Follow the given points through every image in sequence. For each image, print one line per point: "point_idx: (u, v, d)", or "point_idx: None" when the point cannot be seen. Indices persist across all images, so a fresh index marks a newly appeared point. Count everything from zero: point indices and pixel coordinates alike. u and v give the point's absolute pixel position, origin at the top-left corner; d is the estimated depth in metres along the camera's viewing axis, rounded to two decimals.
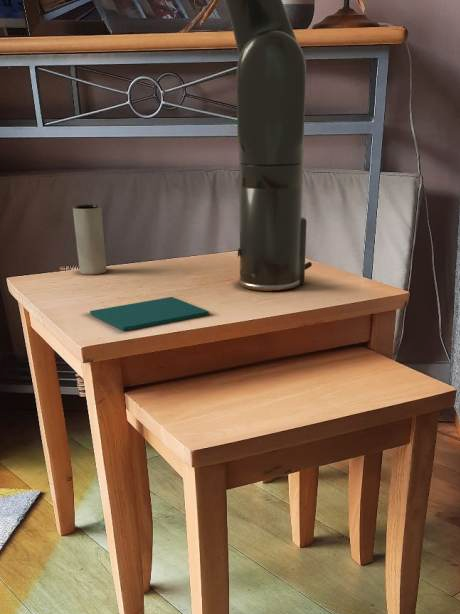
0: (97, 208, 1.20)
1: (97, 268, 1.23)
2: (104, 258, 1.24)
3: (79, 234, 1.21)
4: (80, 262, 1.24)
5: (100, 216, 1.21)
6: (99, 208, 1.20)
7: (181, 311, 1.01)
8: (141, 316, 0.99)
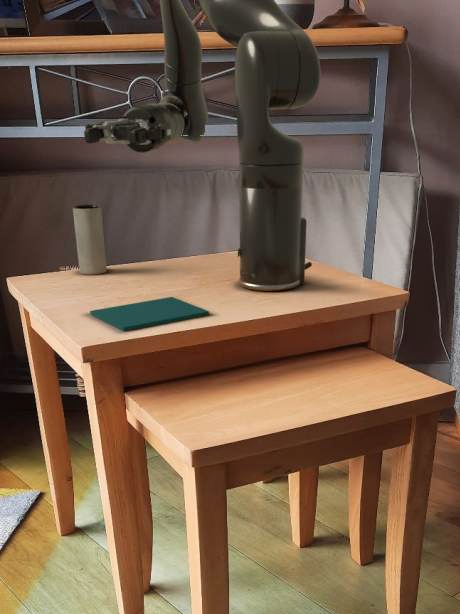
0: (97, 208, 1.20)
1: (97, 268, 1.23)
2: (104, 258, 1.24)
3: (79, 234, 1.21)
4: (80, 262, 1.24)
5: (100, 216, 1.21)
6: (99, 208, 1.20)
7: (181, 311, 1.01)
8: (141, 316, 0.99)
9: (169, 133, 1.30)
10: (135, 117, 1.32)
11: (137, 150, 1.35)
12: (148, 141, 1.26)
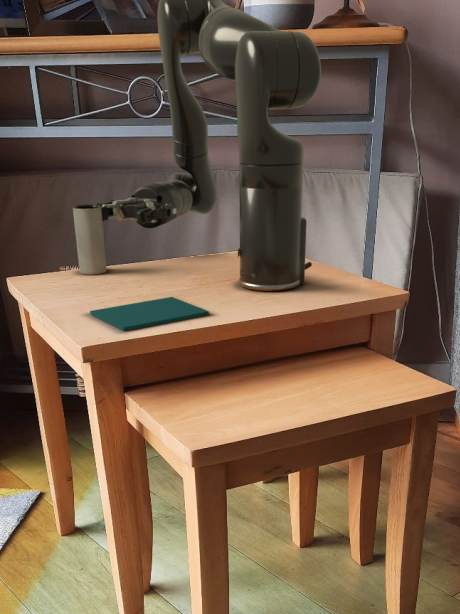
0: (97, 208, 1.20)
1: (97, 268, 1.23)
2: (104, 258, 1.24)
3: (79, 234, 1.21)
4: (80, 262, 1.24)
5: (100, 216, 1.21)
6: (99, 208, 1.20)
7: (181, 311, 1.01)
8: (141, 316, 0.99)
9: (175, 212, 1.36)
10: (143, 196, 1.38)
11: (145, 226, 1.41)
12: (154, 220, 1.32)
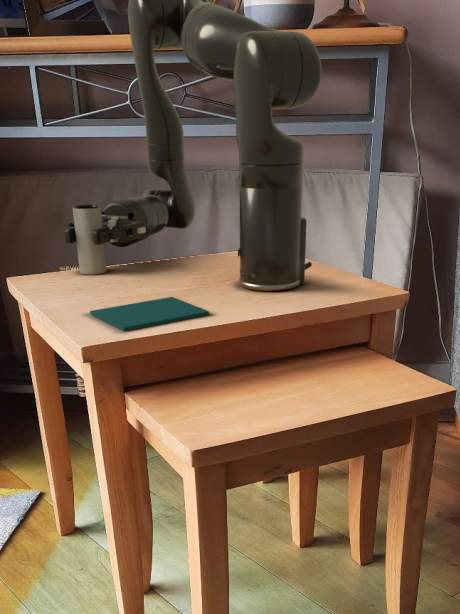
0: (97, 208, 1.20)
1: (97, 268, 1.23)
2: (104, 258, 1.24)
3: (79, 234, 1.21)
4: (80, 262, 1.24)
5: (100, 216, 1.21)
6: (99, 208, 1.20)
7: (181, 311, 1.01)
8: (141, 316, 0.99)
9: (142, 231, 1.26)
10: (114, 213, 1.30)
11: (116, 245, 1.32)
12: (111, 240, 1.23)
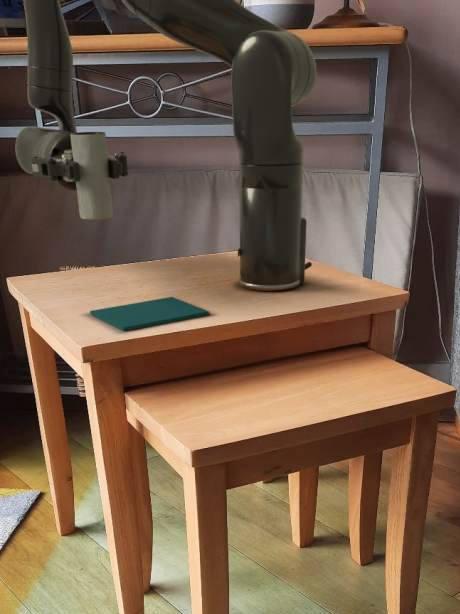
0: (105, 133, 0.97)
1: (111, 210, 1.01)
2: None
3: (90, 168, 0.97)
4: (90, 205, 0.99)
5: None
6: None
7: (181, 311, 1.01)
8: (141, 316, 0.99)
9: None
10: (71, 147, 1.05)
11: (75, 188, 1.08)
12: None
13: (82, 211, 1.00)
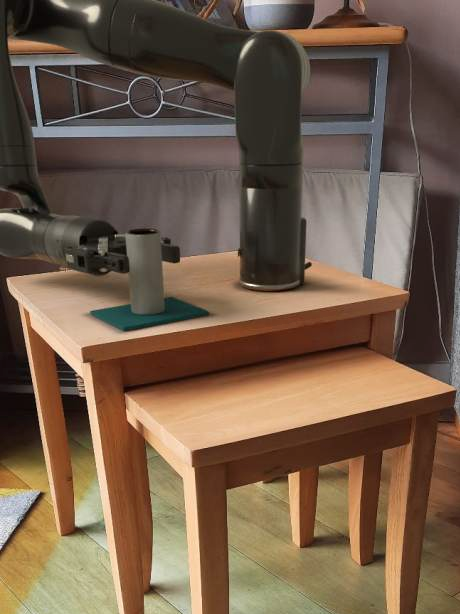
0: (158, 230, 0.98)
1: None
2: None
3: (151, 266, 0.97)
4: (149, 301, 0.99)
5: None
6: None
7: (181, 311, 1.01)
8: (141, 316, 0.99)
9: None
10: (97, 234, 1.03)
11: (100, 273, 1.06)
12: None
13: (139, 307, 0.99)
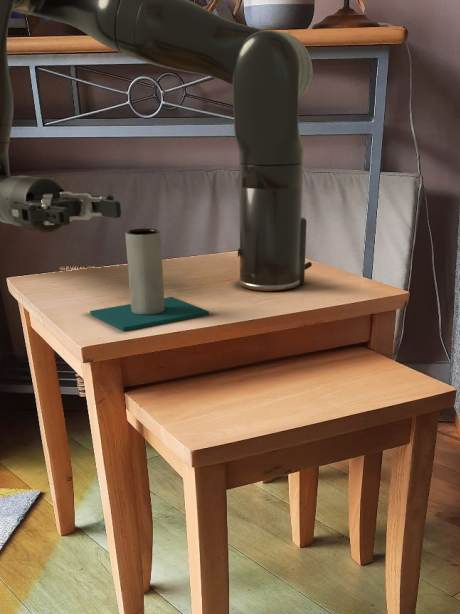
0: (158, 230, 0.98)
1: None
2: None
3: (151, 266, 0.97)
4: (149, 301, 0.99)
5: None
6: None
7: (181, 311, 1.01)
8: (141, 316, 0.99)
9: None
10: (43, 191, 1.09)
11: (47, 230, 1.11)
12: None
13: (139, 307, 0.99)
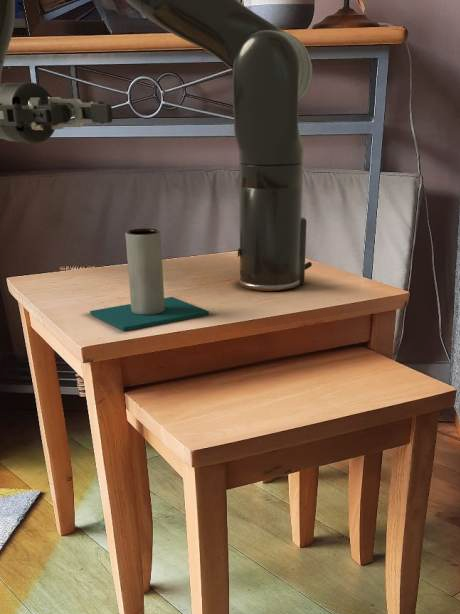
0: (158, 230, 0.98)
1: None
2: None
3: (151, 266, 0.97)
4: (149, 301, 0.99)
5: None
6: None
7: (181, 311, 1.01)
8: (141, 316, 0.99)
9: None
10: (31, 97, 1.03)
11: (35, 140, 1.05)
12: None
13: (139, 307, 0.99)
